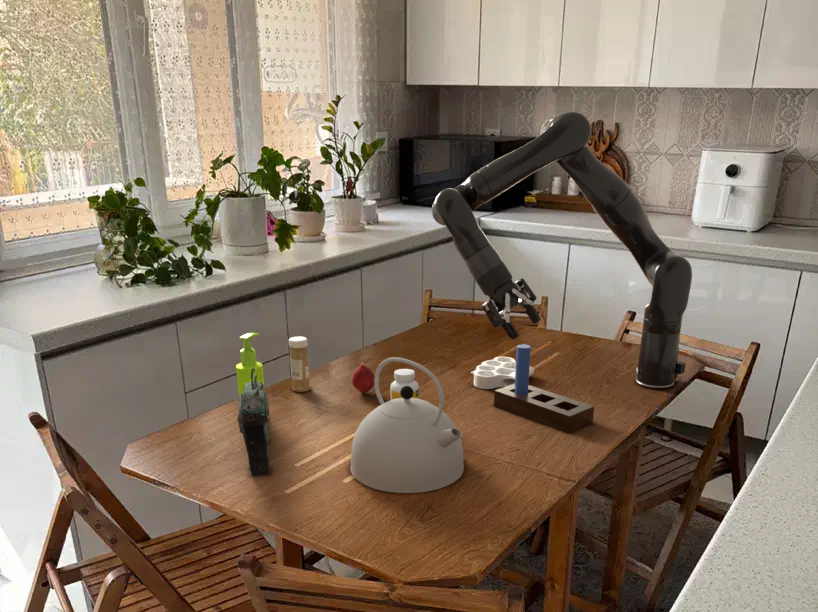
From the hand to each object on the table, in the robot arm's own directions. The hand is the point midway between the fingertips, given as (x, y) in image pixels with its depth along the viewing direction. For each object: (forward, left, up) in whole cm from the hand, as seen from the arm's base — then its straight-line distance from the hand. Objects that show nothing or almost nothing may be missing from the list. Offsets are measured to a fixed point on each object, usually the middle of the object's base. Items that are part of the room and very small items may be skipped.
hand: (526, 329), depth 179 cm
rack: (0, +6, -19) cm, 20 cm away
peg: (-1, -1, -19) cm, 19 cm away
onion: (+21, -33, -19) cm, 44 cm away
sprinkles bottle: (+32, -46, -19) cm, 59 cm away
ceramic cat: (+61, -18, -19) cm, 67 cm away
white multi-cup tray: (-12, -17, -19) cm, 29 cm away
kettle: (+41, +7, -19) cm, 46 cm away
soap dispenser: (+50, -37, -19) cm, 66 cm away
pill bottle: (+25, -13, -19) cm, 35 cm away
